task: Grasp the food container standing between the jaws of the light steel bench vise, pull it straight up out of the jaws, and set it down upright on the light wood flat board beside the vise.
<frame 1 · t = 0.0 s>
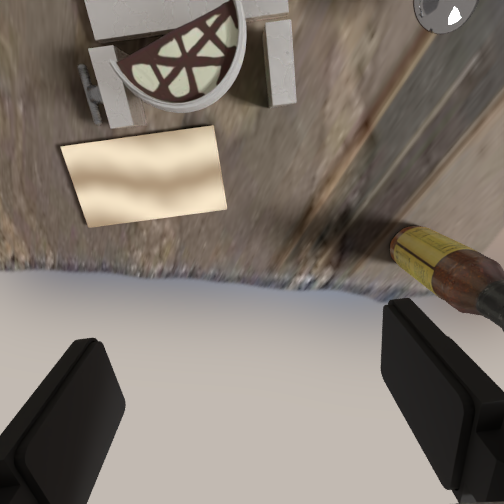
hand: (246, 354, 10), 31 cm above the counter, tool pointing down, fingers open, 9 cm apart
sauce bottle: (409, 242, 43), on the counter
food container: (202, 83, 35), on the counter
vise: (202, 83, 35), on the counter
light wood flat board: (149, 178, 38), on the counter
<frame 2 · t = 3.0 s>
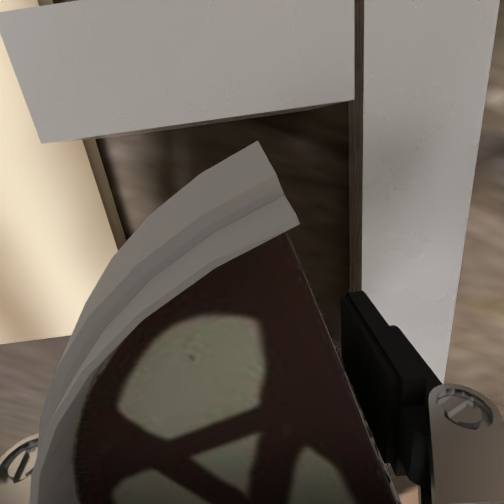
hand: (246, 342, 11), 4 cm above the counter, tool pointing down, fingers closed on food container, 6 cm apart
food container: (239, 289, 14), on the counter, touching gripper
vise: (241, 291, 14), on the counter
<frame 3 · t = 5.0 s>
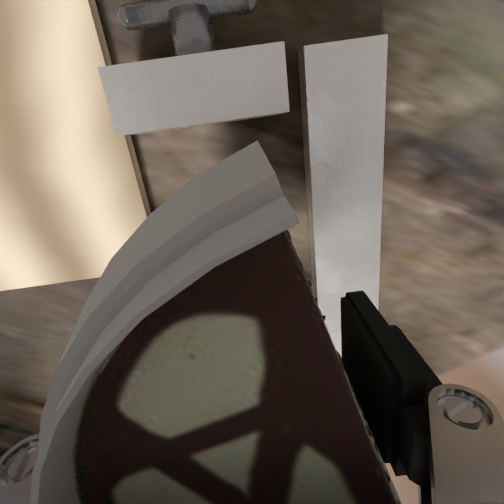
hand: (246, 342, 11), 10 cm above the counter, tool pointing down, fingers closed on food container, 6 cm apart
food container: (239, 288, 14), point 6 cm above the counter, touching gripper
vise: (231, 245, 20), on the counter
light wood flat board: (31, 123, 16), on the counter
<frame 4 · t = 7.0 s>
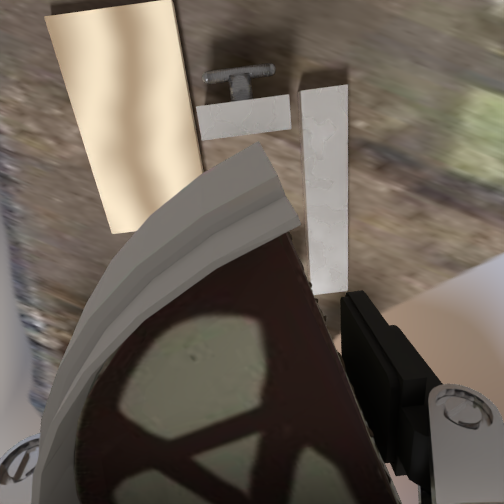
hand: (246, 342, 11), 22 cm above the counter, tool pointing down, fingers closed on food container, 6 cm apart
food container: (239, 289, 14), point 18 cm above the counter, touching gripper
vise: (254, 208, 31), on the counter
light wood flat board: (141, 131, 28), on the counter
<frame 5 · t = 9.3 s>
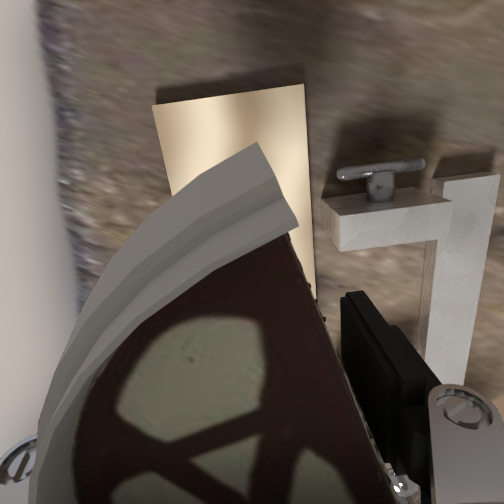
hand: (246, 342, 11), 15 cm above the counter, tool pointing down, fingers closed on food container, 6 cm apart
food container: (239, 289, 14), point 11 cm above the counter, touching gripper
vise: (364, 299, 27), on the counter
light wood flat board: (246, 222, 24), on the counter
wine glass: (402, 482, 38), on the counter
when the fingers open (7 cm above the counter, at t = 11.2 s): food container drops 2 cm, resting on light wood flat board.
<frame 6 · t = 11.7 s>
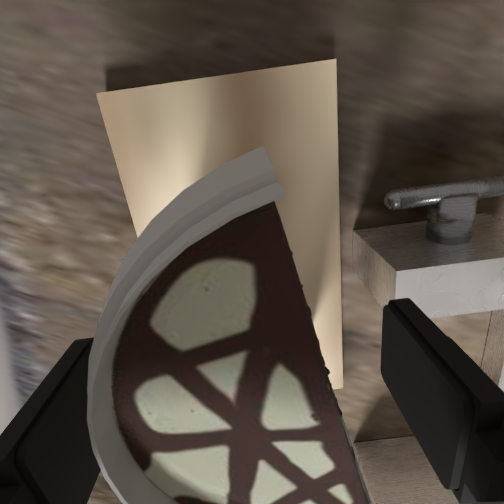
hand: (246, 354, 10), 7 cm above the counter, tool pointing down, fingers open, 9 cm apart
food container: (233, 272, 16), point 1 cm above the counter, touching light wood flat board
vise: (406, 361, 20), on the counter
light wood flat board: (244, 263, 17), on the counter
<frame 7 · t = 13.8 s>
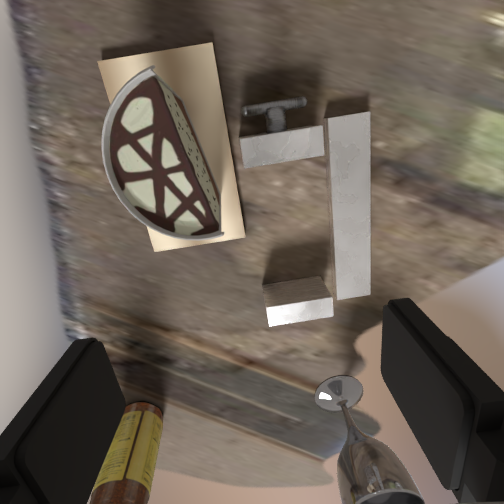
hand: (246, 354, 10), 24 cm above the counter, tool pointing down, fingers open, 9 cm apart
sauce bottle: (144, 414, 44), on the counter
food container: (174, 161, 30), point 1 cm above the counter, touching light wood flat board
vise: (284, 223, 34), on the counter
light wood flat board: (181, 158, 31), on the counter
wine glass: (338, 393, 44), on the counter
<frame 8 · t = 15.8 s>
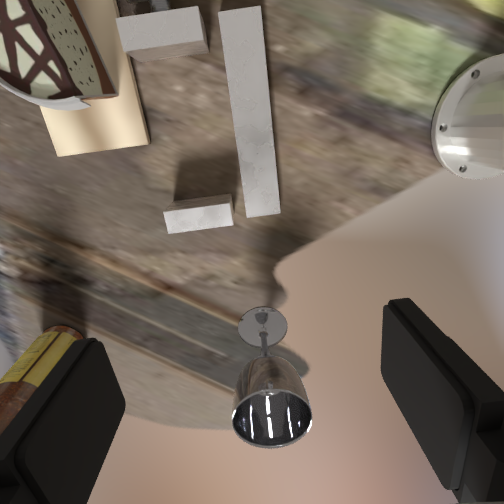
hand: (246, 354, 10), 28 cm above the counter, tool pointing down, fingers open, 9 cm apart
sauce bottle: (67, 340, 44), on the counter
food container: (68, 56, 30), point 1 cm above the counter, touching light wood flat board
vise: (189, 133, 34), on the counter
light wood flat board: (78, 56, 31), on the counter
wine glass: (262, 327, 44), on the counter
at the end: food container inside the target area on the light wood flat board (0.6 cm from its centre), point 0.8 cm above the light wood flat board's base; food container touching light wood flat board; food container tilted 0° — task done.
